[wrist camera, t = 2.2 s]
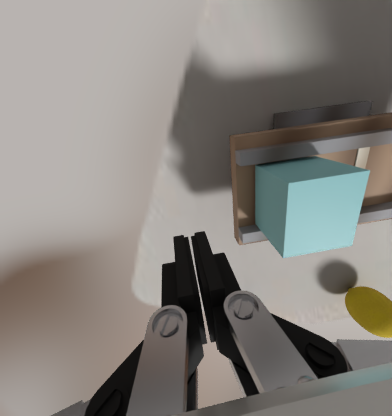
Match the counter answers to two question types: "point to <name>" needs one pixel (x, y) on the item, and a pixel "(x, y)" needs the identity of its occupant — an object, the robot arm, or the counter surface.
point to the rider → (308, 204)
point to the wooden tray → (315, 146)
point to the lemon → (370, 310)
